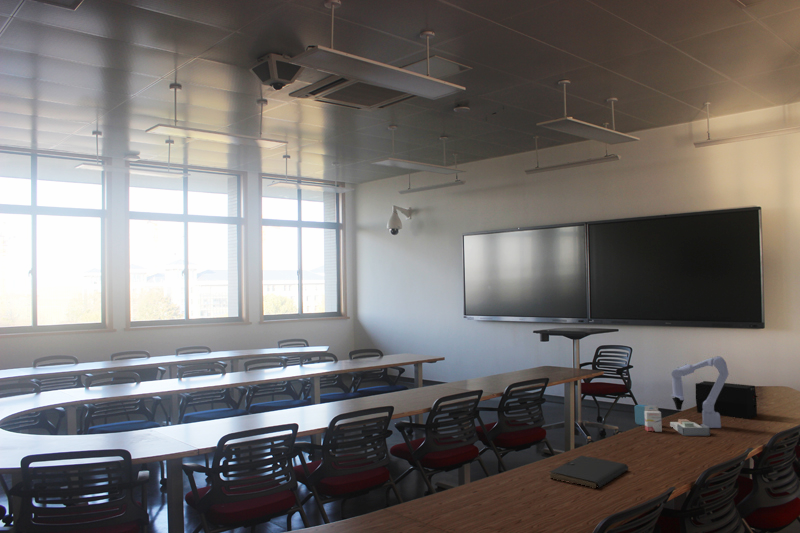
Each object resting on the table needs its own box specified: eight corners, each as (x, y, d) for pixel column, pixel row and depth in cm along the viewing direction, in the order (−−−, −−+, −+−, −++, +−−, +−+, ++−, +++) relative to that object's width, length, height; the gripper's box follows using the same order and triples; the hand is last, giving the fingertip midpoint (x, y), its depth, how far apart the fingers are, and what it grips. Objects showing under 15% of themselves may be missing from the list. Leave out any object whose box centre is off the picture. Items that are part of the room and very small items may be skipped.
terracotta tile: (686, 422, 350) (686, 419, 350) (689, 424, 345) (689, 421, 345) (678, 422, 351) (678, 419, 351) (681, 424, 346) (681, 421, 346)
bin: (704, 431, 336) (703, 424, 336) (710, 435, 327) (709, 427, 327) (677, 431, 338) (677, 424, 338) (683, 435, 329) (682, 427, 330)
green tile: (690, 424, 344) (690, 421, 344) (693, 426, 339) (693, 423, 339) (682, 424, 344) (681, 421, 345) (685, 426, 340) (684, 423, 340)
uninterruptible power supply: (707, 409, 397) (705, 380, 398) (760, 416, 371) (758, 385, 372) (696, 412, 387) (694, 383, 388) (750, 420, 361) (748, 388, 362)
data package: (656, 425, 355) (655, 406, 356) (653, 426, 353) (652, 407, 353) (638, 422, 365) (637, 404, 365) (635, 423, 362) (634, 405, 363)
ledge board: (693, 425, 351) (693, 421, 351) (702, 431, 337) (702, 427, 337) (670, 425, 353) (670, 421, 353) (678, 431, 339) (678, 427, 339)
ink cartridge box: (647, 431, 341) (646, 407, 342) (645, 429, 346) (643, 405, 347) (662, 431, 340) (660, 407, 341) (659, 429, 345) (658, 405, 346)
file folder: (581, 454, 287) (628, 463, 270) (581, 462, 287) (628, 472, 270) (548, 470, 263) (598, 482, 246) (549, 479, 263) (598, 491, 246)
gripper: (667, 386, 365) (668, 407, 364) (674, 390, 350) (676, 411, 350) (678, 386, 364) (679, 407, 363) (686, 389, 349) (688, 411, 349)
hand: (678, 409), depth 356 cm, fingers closed
